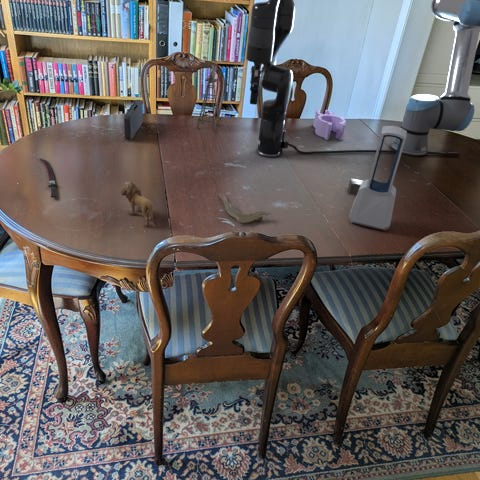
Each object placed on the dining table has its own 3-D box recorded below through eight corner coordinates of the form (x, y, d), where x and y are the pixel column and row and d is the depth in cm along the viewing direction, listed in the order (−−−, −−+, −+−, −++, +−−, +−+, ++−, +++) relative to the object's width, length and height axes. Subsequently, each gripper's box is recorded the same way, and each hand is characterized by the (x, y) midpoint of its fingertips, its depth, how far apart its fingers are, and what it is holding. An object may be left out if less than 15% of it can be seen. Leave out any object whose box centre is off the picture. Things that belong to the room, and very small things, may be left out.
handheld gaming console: (136, 121, 202) (136, 98, 197) (143, 121, 202) (142, 98, 197) (123, 140, 183) (122, 115, 178) (130, 141, 183) (130, 116, 178)
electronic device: (389, 222, 147) (418, 130, 131) (388, 233, 141) (417, 138, 125) (350, 212, 150) (373, 122, 134) (347, 223, 144) (370, 129, 127)
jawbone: (251, 231, 136) (251, 225, 134) (200, 206, 146) (200, 200, 145) (270, 218, 141) (270, 213, 140) (219, 195, 152) (219, 189, 150)
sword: (61, 197, 141) (61, 193, 140) (50, 198, 139) (50, 194, 139) (49, 160, 164) (48, 156, 163) (39, 160, 163) (39, 157, 162)
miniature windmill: (214, 131, 201) (219, 58, 184) (195, 128, 202) (199, 55, 185) (219, 124, 208) (224, 54, 192) (201, 122, 209) (205, 51, 193)
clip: (307, 123, 221) (309, 109, 217) (331, 124, 223) (334, 110, 219) (321, 139, 204) (324, 124, 201) (347, 140, 207) (350, 125, 203)
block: (347, 189, 165) (350, 178, 163) (360, 190, 165) (363, 180, 162) (348, 194, 161) (351, 183, 159) (361, 196, 161) (364, 185, 159)
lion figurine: (118, 210, 138) (116, 182, 133) (132, 204, 141) (131, 177, 137) (151, 229, 130) (150, 201, 126) (165, 223, 134) (165, 195, 129)
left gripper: (250, 38, 140) (244, 92, 149) (245, 46, 128) (239, 105, 137) (274, 41, 140) (268, 95, 149) (272, 50, 128) (265, 108, 137)
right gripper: (493, 46, 161) (471, 107, 172) (524, 62, 140) (497, 130, 151) (515, 49, 161) (491, 110, 172) (549, 64, 140) (520, 132, 151)
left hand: (254, 100), depth 143 cm, fingers open, 8 cm apart
